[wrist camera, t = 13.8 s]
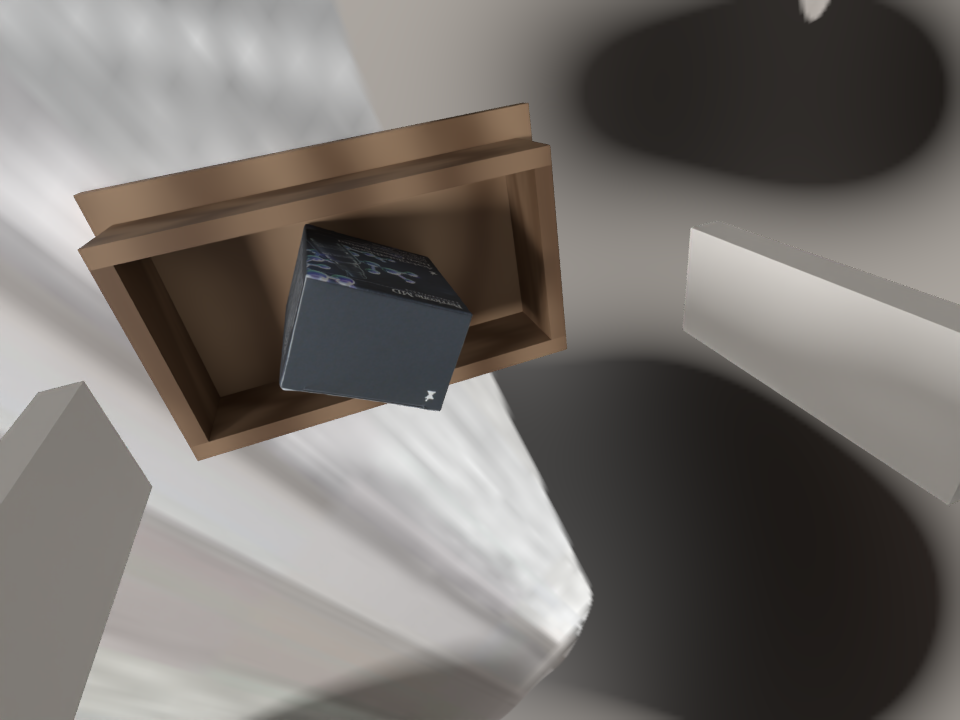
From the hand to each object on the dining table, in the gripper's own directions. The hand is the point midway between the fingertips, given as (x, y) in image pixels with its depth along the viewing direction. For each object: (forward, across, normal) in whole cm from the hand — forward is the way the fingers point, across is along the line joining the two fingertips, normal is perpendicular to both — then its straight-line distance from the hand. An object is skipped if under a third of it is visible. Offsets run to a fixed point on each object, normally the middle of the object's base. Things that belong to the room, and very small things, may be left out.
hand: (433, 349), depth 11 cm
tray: (+23, -1, -6) cm, 24 cm away
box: (+22, -1, -6) cm, 23 cm away
